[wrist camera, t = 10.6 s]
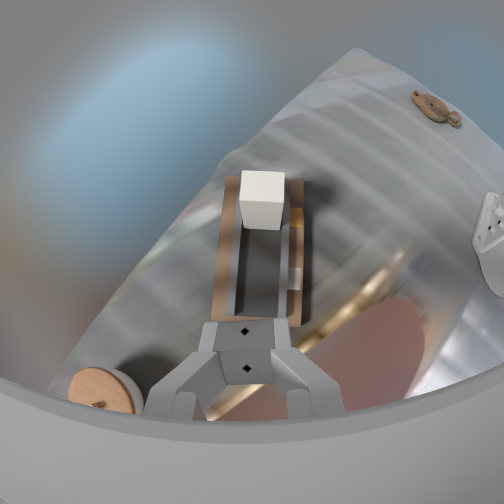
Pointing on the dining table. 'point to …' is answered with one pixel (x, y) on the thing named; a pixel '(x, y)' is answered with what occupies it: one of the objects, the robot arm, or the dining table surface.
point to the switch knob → (262, 199)
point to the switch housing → (260, 261)
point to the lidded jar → (106, 390)
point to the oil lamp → (434, 108)
